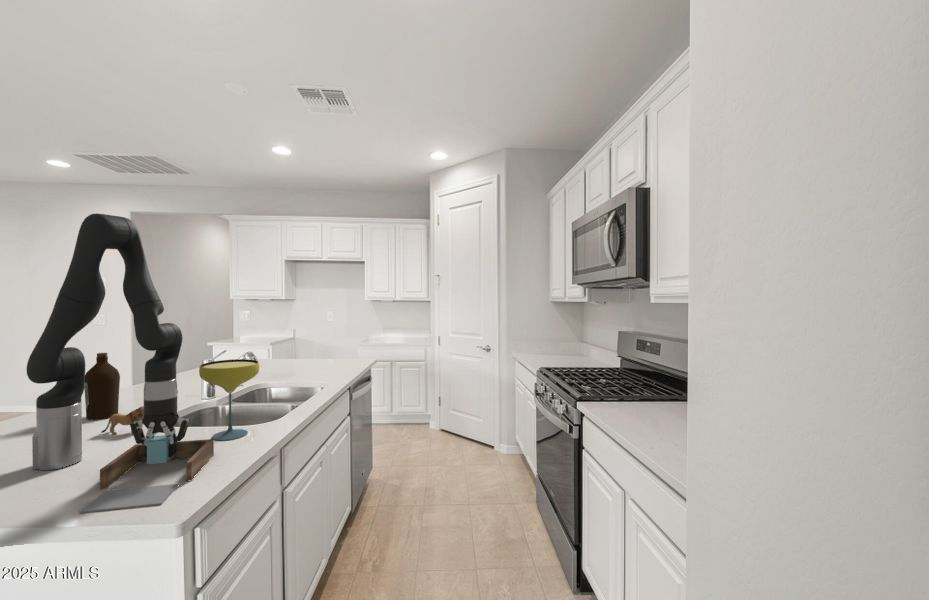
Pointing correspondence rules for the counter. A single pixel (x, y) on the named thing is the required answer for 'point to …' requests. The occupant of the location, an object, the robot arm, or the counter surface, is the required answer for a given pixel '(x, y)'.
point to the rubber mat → (130, 498)
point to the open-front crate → (185, 449)
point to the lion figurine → (125, 419)
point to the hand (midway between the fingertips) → (160, 456)
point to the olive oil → (101, 389)
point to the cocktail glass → (229, 385)
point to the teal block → (158, 450)
